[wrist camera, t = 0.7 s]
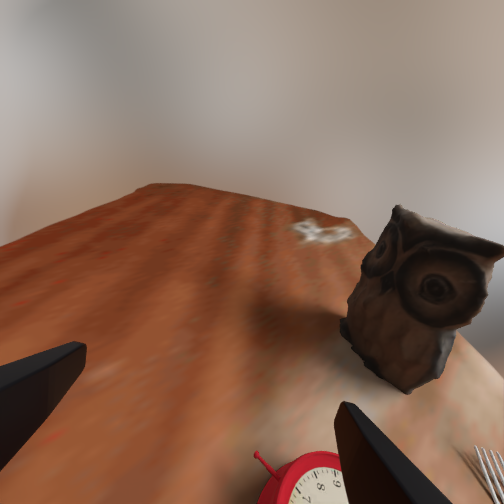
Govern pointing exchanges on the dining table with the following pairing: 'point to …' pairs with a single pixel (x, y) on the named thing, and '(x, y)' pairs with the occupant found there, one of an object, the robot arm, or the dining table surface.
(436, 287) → the owl
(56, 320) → the dining table surface
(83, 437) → the dining table surface
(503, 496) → the fork
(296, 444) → the dining table surface
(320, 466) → the alarm clock
